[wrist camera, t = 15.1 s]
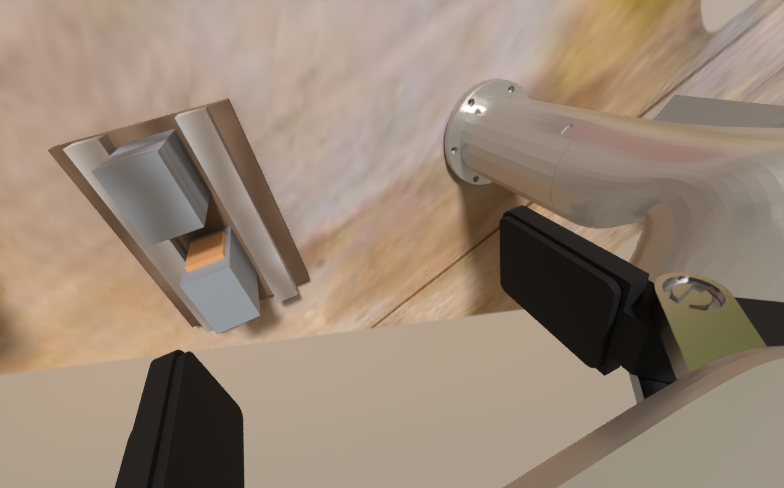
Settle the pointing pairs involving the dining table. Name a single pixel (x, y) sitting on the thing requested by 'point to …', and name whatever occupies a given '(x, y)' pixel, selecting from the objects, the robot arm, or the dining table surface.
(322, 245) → the dining table surface
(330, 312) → the dining table surface
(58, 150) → the rail
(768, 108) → the perfume bottle
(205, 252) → the block
